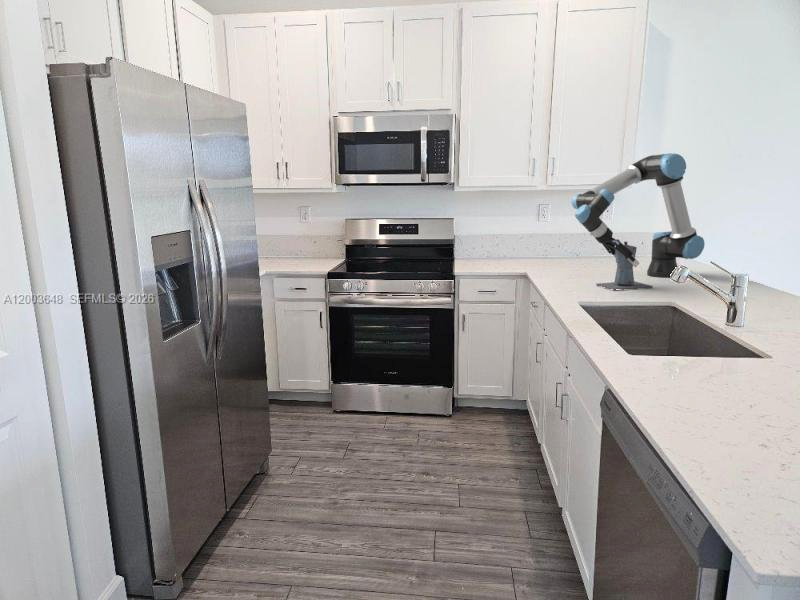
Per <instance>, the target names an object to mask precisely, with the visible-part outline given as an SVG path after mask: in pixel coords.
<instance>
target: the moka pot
mask: <svg viewBox="0 0 800 600" xmlns="http://www.w3.org/2000/svg"><path fill="white" fill-rule="evenodd" d="M623 245H624V246H626V247H627V248H628V249H629V250H630V251H631V252H633V254H632V255H633V256H634V258H635V259H636V255H637V254H636V253H637V250H638V249H637V246H634V245H629V244H628V241H623ZM615 256H616V258H615V263H616V271H615V277H614V282H615V283H617V284H633V283H634V281H635V277H634V266H633V265H632V264H631V263H630V262H629V260H628V259H626V258H627V257H626V256H624V255H623V254H622V253H620V252H619V251H618V250H616V249H615Z"/></svg>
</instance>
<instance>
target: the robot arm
mask: <svg viewBox="0 0 800 600" xmlns="http://www.w3.org/2000/svg"><path fill="white" fill-rule="evenodd" d="M686 170H687V162H686V160H685V158H684V157H683V156H682V155H680V154H678V153H671V152H669V153H662V154H652V155H649V156H646V157H644V158H642V159H639V160H637V161H636V162H634V163H632V164H630V165H628V166H627V167H626V169H625V170H623V171H622V172H620V173H619V174H616V175H615V176H613V177H611V178H609V179H607V180H606V181H604V182H602V183H600V184H598V185H597V186H595V187H593V188H591V189H590V190H587V191H586V192H584V193H579V194H576V195H574V196H573V197H572V199H571V205H572V208H573V209H575V212H574V217H575V219H576V220H577V221H578V222H579V224H580V225H582V226H583V227H584V228H585V229H586V230H587V231H588V232H589V233H590V234H589V235H590V236H591V237H594V239H595V240H596V241H597V242H598V243H599V244H602V246H603V248H604V249H605V250H606V251H607V252H608V254H611V255H613V257H614V258H615V259H616V256H615V249H616V250H618V251H619V252H620V253H622V254H623V255H624V256H626V257H627V258H626V259H628V260H629V262H630V263H631V264H632V265H633V268H637V267H638V266H639V265H640V262H639V261H638V260H637V258H636V257H635V258H634V256H633V255H632V254H633V252H631V251H630V250H629V249H628V248H627V247H626V246H624V243H622V242H621V240H620V239H618V238H617V239H616V238H614V237H613V235H614V232H613V231H612V230H611V228H609V227H608V225H607V224H606V223H605V222H604V221H603V219H601V218H600V217H601V216H602V214H603V213H604V212H605V211H606V210H607V209H608V208H609V206H611V204H612V202H613V201H614V200H615V194H617V193H619V192H620V191H622V190H624V189H626V188H628V187H630V186H631V185H633V184H635V185H637V184H638V183H641V182H644V181H648V180H649V181H650V180H655V183H656V187H659V188H661V193H662V197H663V200H664V204H665V209H666V212H667V216H668V219H669V223H670V228H671V231H662V232H661V231H660V232H655V233H653V236H652V243H651V261H650V264H649V266H648V268H647V270H646V275H647V276H651V277H656V278H670V277H669V276H670V274H671V273H672V271H673V270H674V269H675V267H678V264H677V258H679V259H685V260H688V259H689V260H693V259H697V258H699V256H700V255H701V254H702V253H703V251H704V248H705V240H704V238H703V237H702V236H701V235H698V233H697V230H696V228H694V227H692V224H691V220H690V215H689V211H688V208H687V204H686V200H685V195H684V191H683V187H682V181H683V180H684V175H685V173H686Z"/></svg>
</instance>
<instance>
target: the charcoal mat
mask: <svg viewBox="0 0 800 600" xmlns="http://www.w3.org/2000/svg"><path fill="white" fill-rule="evenodd" d="M595 285H598V286H597V287H599V286H602V287H605V288H604V289H606V288H609V289H613V290H616V289H633V290H639V289H638V288H646V289H653V285H650V284H647V283H642V282H639V281H636V280H634V283H633V284H617V283H615V281H614V282H602V283H601V282H599V283H596V284H595ZM602 287H601V288H602ZM609 289H608V290H609Z"/></svg>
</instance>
